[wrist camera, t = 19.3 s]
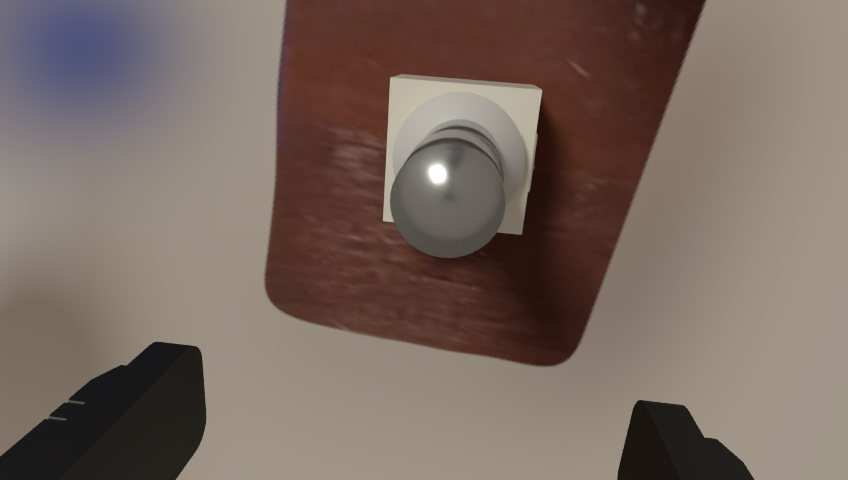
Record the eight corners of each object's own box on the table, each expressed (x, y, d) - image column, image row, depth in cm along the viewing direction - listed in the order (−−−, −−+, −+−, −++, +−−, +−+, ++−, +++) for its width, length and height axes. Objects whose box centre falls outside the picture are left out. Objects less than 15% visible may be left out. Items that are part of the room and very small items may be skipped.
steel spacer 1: (420, 115, 32) (410, 126, 28) (505, 122, 32) (509, 135, 27) (415, 197, 34) (404, 220, 29) (495, 204, 34) (498, 229, 29)
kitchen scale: (401, 74, 37) (388, 78, 32) (539, 85, 36) (549, 91, 31) (394, 201, 40) (381, 224, 35) (521, 213, 40) (527, 239, 34)
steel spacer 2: (407, 125, 28) (392, 141, 23) (506, 133, 27) (512, 151, 22) (402, 219, 29) (387, 252, 24) (495, 228, 29) (498, 263, 24)
